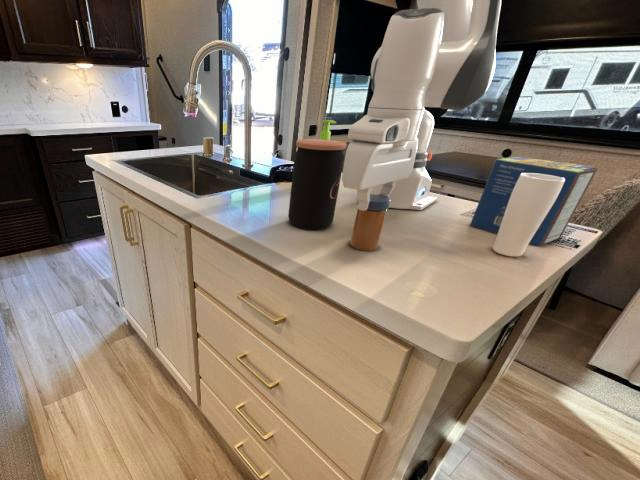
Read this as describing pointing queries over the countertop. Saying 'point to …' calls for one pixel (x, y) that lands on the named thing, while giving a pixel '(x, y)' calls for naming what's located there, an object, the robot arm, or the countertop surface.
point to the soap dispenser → (326, 130)
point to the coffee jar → (315, 183)
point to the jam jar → (367, 229)
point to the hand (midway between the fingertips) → (372, 206)
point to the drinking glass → (526, 211)
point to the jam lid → (378, 202)
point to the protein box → (503, 185)
